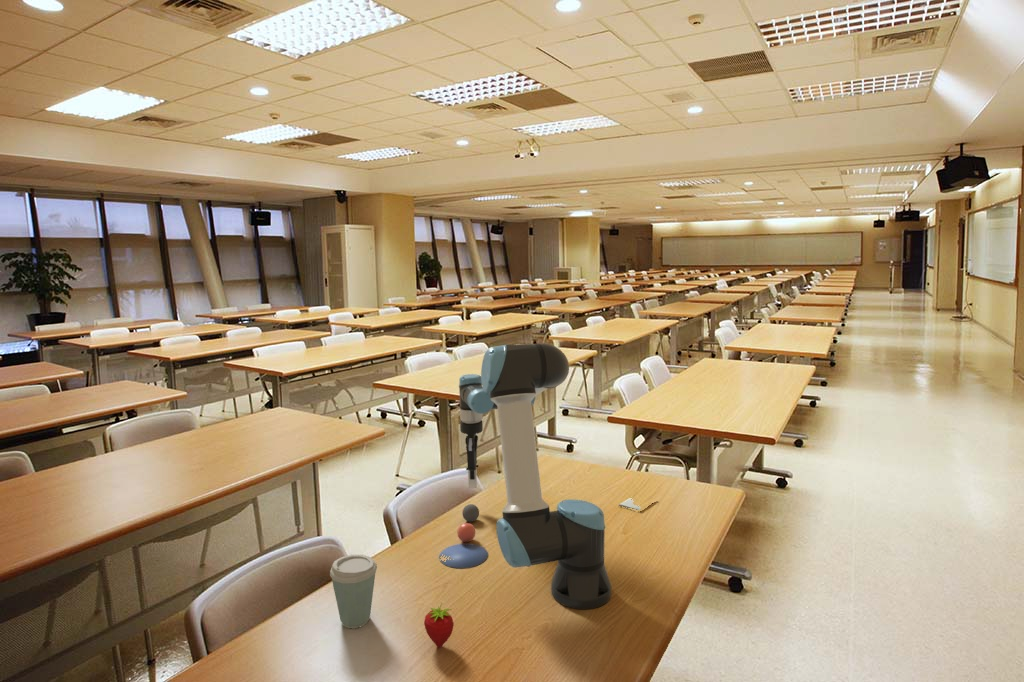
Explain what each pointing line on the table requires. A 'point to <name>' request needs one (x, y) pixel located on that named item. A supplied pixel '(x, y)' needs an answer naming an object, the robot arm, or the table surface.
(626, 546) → the table surface
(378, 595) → the table surface
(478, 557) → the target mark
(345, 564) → the disposable coffee cup
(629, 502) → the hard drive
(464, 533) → the red ball
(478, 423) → the robot arm
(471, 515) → the grey ball
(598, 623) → the table surface
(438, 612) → the strawberry
